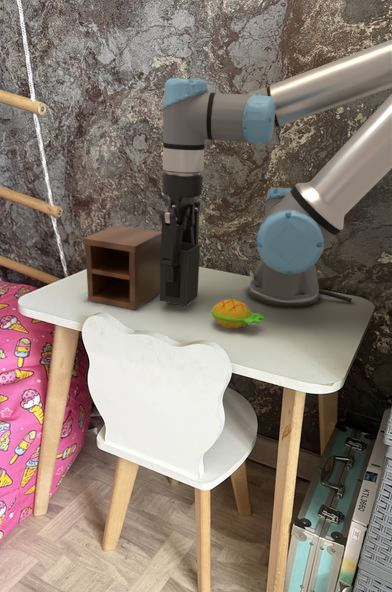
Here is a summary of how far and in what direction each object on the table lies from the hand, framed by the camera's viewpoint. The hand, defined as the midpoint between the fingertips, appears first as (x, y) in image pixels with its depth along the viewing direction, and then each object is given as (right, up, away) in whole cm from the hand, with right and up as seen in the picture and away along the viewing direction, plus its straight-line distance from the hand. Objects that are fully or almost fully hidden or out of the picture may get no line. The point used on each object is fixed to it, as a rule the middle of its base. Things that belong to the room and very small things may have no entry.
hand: (179, 291), depth 106 cm
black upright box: (0, -2, +1) cm, 2 cm away
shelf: (-12, -1, +5) cm, 13 cm away
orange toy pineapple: (+11, -8, -7) cm, 15 cm away
